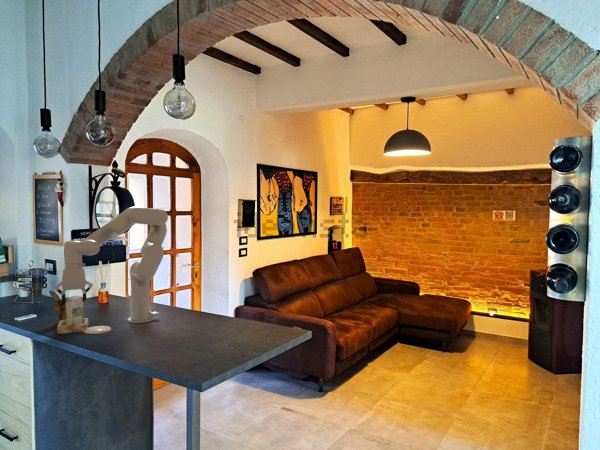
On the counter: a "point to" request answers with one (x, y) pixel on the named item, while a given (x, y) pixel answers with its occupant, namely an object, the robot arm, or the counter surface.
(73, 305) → the syrup box
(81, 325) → the oak collar
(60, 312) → the wooden mug
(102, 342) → the counter surface
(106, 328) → the cream shiny round part
